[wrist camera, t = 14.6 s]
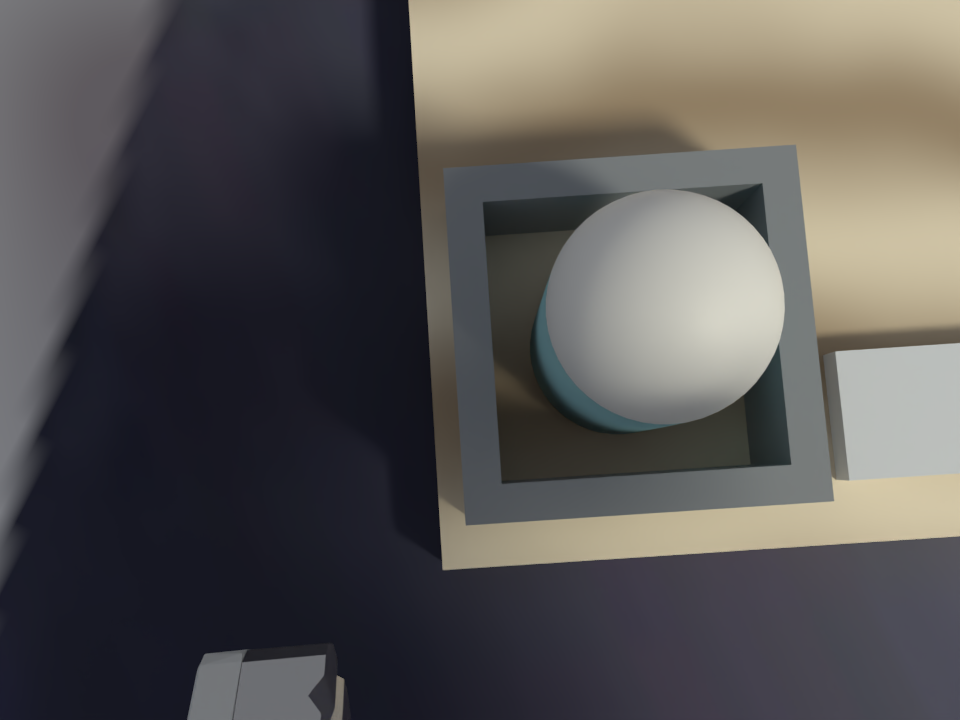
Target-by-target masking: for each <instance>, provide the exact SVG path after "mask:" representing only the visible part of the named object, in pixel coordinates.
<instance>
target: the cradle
mask: <svg viewBox="0 0 960 720" xmlns="http://www.w3.org/2000/svg"><path fill="white" fill-rule="evenodd" d="M443 174H444V190H445V206H446V222H447V238H448V254H449V270H450V286H451V301H452V317H453V333H454V349H455V365H456V381H457V397H458V412H459V428H460V444H461V460H462V476H463V492H464V508H465V523H466V526H467V525H482V524H498V523H513V522H528V521H543V520H558V519H574V518H589V517H604V516H619V515H634V514H650V513H665V512H680V511H695V510H710V509H725V508H741V507H756V506H771V505H786V504H801V503H817V502H832V501H834V494H833V485H832V476H831V466H830V457H829V448H828V438H827V429H826V420H825V410H824V401H823V392H822V382H821V373H820V364H819V354H818V345H817V336H816V326H815V317H814V308H813V298H812V289H811V280H810V270H809V261H808V252H807V242H806V233H805V224H804V214H803V205H802V196H801V186H800V177H799V168H798V158H797V149H796V145H782V146H767V147H752V148H737V149H722V150H707V151H692V152H677V153H662V154H648V155H633V156H618V157H603V158H588V159H573V160H558V161H543V162H528V163H513V164H499V165H484V166H469V167H454V168H443ZM664 189H673V190H681V191H689V192H693V193H697V194H701V195H705V196H707V197H710V198H712V199H715V200H717V201H719V202H721V203H723V204H725V205H727V206H728V207H730V208H732V209H733V210H735V211H736V212H737V213H739V214H740V215H742V216H743V217H744V218H745V219H746V220H747V221H748V222H749V223H750V224H751V225H752V226H754V228H755V229H756V230H757V231H758V232H759V234H760V235H761V236H762V237H763V239H764V240H765V242H766V243H767V245H768V247H769V248H770V250H771V252H772V254H773V256H774V258H775V260H776V263H777V265H778V268H779V272H780V275H781V278H782V284H783V289H784V302H785V313H784V324H783V329H782V333H781V337H780V341H779V343H778V346H777V349H776V351H775V354H774V356H773V357H772V359H771V361H770V363H769V365H768V367H767V368H766V370H765V371H764V372H763V374H762V375H761V377H760V378H759V379H758V381H757V382H756V383H755V384H754V385H753V386H752V387H751V388H750V389H749V390H748V391H747V392H746V393H745V394H744V403H745V413H746V423H747V433H748V444H749V454H750V465H735V466H720V467H705V468H690V469H674V470H659V471H644V472H629V473H614V474H599V475H583V476H568V477H553V478H538V479H523V480H508V481H502V480H501V466H500V451H499V436H498V421H497V406H496V392H495V377H494V362H493V347H492V333H491V318H490V303H489V288H488V273H487V259H486V244H485V236H493V235H508V234H523V233H538V232H552V231H567V230H576V229H577V228H578V227H579V226H580V225H581V224H582V223H583V222H584V221H585V220H586V219H587V218H588V217H590V216H591V215H592V214H594V213H595V212H596V211H598V210H599V209H601V208H603V207H604V206H606V205H608V204H610V203H611V202H614V201H616V200H618V199H621V198H623V197H626V196H628V195H632V194H635V193H639V192H643V191H650V190H664Z"/></svg>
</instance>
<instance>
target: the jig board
mask: <svg viewBox="0 0 960 720" xmlns="http://www.w3.org/2000/svg"><path fill="white" fill-rule="evenodd" d="M409 17H410V33H411V50H412V67H413V83H414V100H415V117H416V133H417V150H418V167H419V183H420V200H421V217H422V233H423V250H424V267H425V283H426V300H427V317H428V333H429V350H430V367H431V383H432V400H433V417H434V433H435V450H436V467H437V483H438V500H439V517H440V533H441V550H442V567H443V570H452V569H467V568H482V567H497V566H513V565H528V564H543V563H558V562H574V561H589V560H604V559H619V558H634V557H650V556H665V555H680V554H695V553H711V552H726V551H741V550H756V549H772V548H787V547H802V546H817V545H832V544H848V543H863V542H878V541H893V540H909V539H924V538H939V537H954V536H960V473H958V474H943V475H928V476H913V477H898V478H883V479H867V480H852V481H846V480H836V472H835V463H834V453H833V444H832V435H831V425H830V416H829V407H828V398H827V388H826V379H825V370H824V360H823V355H825V354H829V353H832V352H835V351H848V350H863V349H878V348H893V347H908V346H923V345H938V344H953V343H960V0H409ZM782 145H796V149H797V158H798V168H799V177H800V186H801V196H802V205H803V214H804V224H805V233H806V242H807V252H808V261H809V270H810V280H811V289H812V298H813V308H814V317H815V326H816V336H817V345H818V354H819V364H820V373H821V382H822V392H823V401H824V410H825V420H826V429H827V438H828V448H829V457H830V466H831V476H832V485H833V494H834V501H832V502H817V503H801V504H786V505H771V506H756V507H741V508H725V509H710V510H695V511H680V512H665V513H650V514H634V515H619V516H604V517H589V518H574V519H558V520H543V521H528V522H513V523H498V524H482V525H467V526H466V523H465V508H464V492H463V476H462V460H461V444H460V428H459V412H458V397H457V381H456V365H455V349H454V333H453V317H452V301H451V286H450V270H449V254H448V238H447V222H446V206H445V190H444V174H443V168H454V167H469V166H484V165H499V164H513V163H528V162H543V161H558V160H573V159H588V158H603V157H618V156H633V155H648V154H662V153H677V152H692V151H707V150H722V149H737V148H752V147H767V146H782ZM574 231H575V230H567V231H552V232H538V233H523V234H508V235H493V236H485V244H486V259H487V273H488V288H489V303H490V318H491V333H492V347H493V362H494V377H495V392H496V406H497V421H498V436H499V451H500V466H501V480H502V481H508V480H523V479H538V478H553V477H568V476H583V475H599V474H614V473H629V472H644V471H659V470H674V469H690V468H705V467H720V466H735V465H750V454H749V444H748V433H747V423H746V413H745V403H744V395H743V396H742V397H740V398H739V399H738V400H736V401H735V402H734V403H732V404H731V405H729V406H727V407H726V408H724V409H722V410H720V411H718V412H716V413H714V414H712V415H709V416H707V417H705V418H702V419H698V420H694V421H691V422H687V423H682V424H677V425H672V426H667V427H662V428H657V429H652V430H647V431H642V432H637V433H630V434H606V433H600V432H596V431H592V430H589V429H586V428H584V427H582V426H579V425H577V424H576V423H574V422H572V421H570V420H569V419H568V418H566V417H565V416H564V415H562V414H561V413H560V412H559V411H558V410H557V409H556V408H555V407H554V406H553V405H552V404H551V403H550V402H549V400H548V399H547V398H546V397H545V395H544V393H543V392H542V390H541V388H540V387H539V384H538V382H537V380H536V377H535V375H534V371H533V367H532V363H531V356H530V339H531V331H532V327H533V324H534V320H535V317H536V314H537V311H538V308H539V305H540V303H541V300H542V297H543V294H544V291H545V288H546V285H547V282H548V279H549V277H550V274H551V271H552V268H553V266H554V264H555V261H556V259H557V257H558V255H559V253H560V251H561V250H562V248H563V246H564V244H565V243H566V242H567V240H568V239H569V238H570V236H571V235H572V234H573V233H574Z"/></svg>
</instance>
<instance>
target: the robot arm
mask: <svg viewBox="0 0 960 720" xmlns="http://www.w3.org/2000/svg"><path fill="white" fill-rule="evenodd" d="M337 664H338V657H337V654H336V651H335V649H334V646H333V643H332V642H331V643H320V644H309V645H297V646H286V647H275V648H264V649H253V650H249V649H246V650H237V651H227V652H218V653H208V654H205V655H204V657H203V659H202V661H201V663H200V665H199V667H198V669H197V674H196V679H195V684H194V689H193V693H192V698H191V703H190V708H189V713H188V718H187V720H351V716H350V704H349V697H348V691H347V688H346V684H345V680H344V679H343V678H341V677H339V676H338V675H337Z"/></svg>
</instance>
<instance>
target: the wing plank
mask: <svg viewBox="0 0 960 720" xmlns="http://www.w3.org/2000/svg"><path fill="white" fill-rule="evenodd" d="M823 360H824V370H825V379H826V388H827V398H828V407H829V416H830V425H831V435H832V444H833V453H834V463H835V472H836V480H846V481H852V480H867V479H883V478H898V477H913V476H928V475H943V474H958V473H960V343H953V344H938V345H923V346H908V347H893V348H878V349H863V350H848V351H835V352H832V353H829V354H825V355H823Z"/></svg>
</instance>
